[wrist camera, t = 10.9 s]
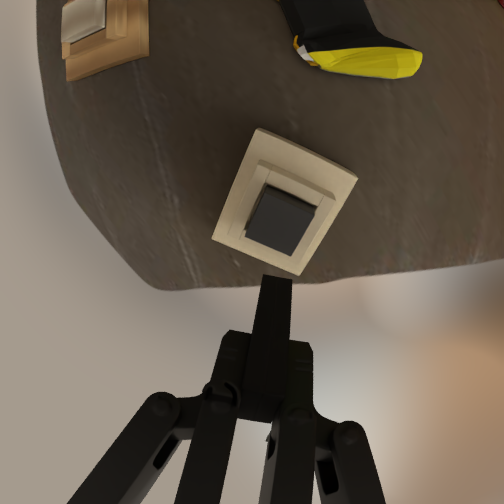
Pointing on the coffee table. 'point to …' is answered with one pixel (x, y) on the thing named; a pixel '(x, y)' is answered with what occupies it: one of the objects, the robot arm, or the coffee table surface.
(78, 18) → the ivory key
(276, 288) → the robot arm
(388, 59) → the gaming controller
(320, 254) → the coffee table surface
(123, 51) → the key block
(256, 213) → the black key
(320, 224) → the key block
